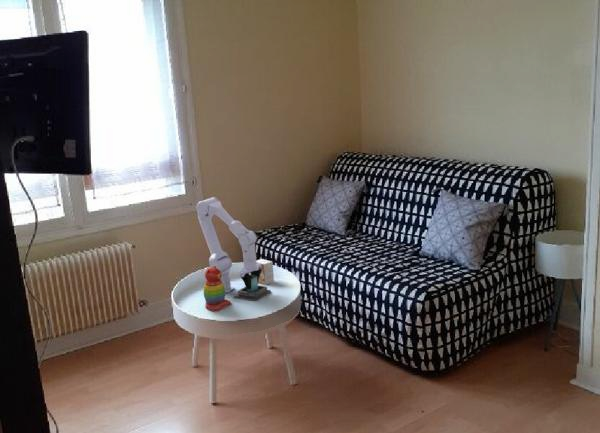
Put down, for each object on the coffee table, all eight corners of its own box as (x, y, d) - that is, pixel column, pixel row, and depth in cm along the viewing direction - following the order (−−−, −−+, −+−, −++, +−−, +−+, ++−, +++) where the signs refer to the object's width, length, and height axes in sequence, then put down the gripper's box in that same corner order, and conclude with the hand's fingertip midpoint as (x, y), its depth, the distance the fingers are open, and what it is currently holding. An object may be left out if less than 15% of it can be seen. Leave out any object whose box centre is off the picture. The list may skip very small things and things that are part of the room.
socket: (234, 297, 275) (233, 291, 274) (249, 289, 285) (249, 283, 284) (256, 301, 269) (255, 294, 268) (271, 292, 278) (270, 286, 278)
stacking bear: (217, 312, 259) (213, 272, 255) (199, 308, 264) (195, 270, 260) (233, 303, 268) (229, 265, 264) (215, 300, 273) (211, 262, 269)
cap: (244, 291, 275) (243, 277, 274) (251, 287, 279) (250, 274, 278) (253, 292, 273) (252, 279, 271) (260, 288, 277) (259, 275, 275)
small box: (255, 281, 294) (253, 261, 292) (263, 278, 298) (262, 258, 296) (265, 285, 289) (263, 264, 286) (274, 282, 292) (272, 261, 290)
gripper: (247, 264, 265) (250, 293, 268) (265, 254, 277) (268, 282, 280) (234, 262, 268) (237, 291, 271) (253, 253, 280) (255, 281, 283)
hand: (252, 286), depth 276 cm, fingers closed on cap, 5 cm apart
